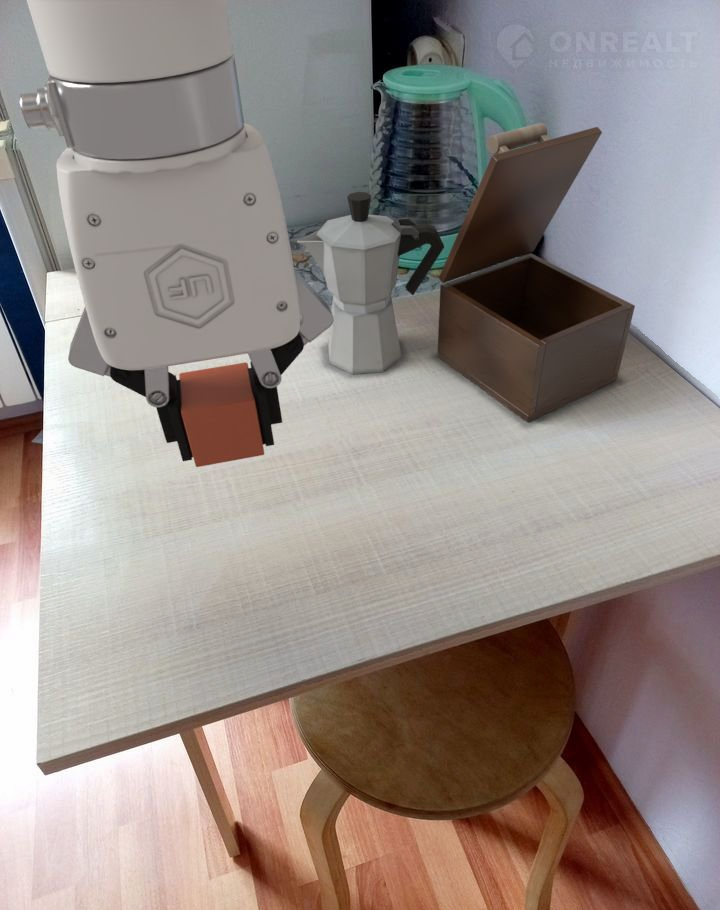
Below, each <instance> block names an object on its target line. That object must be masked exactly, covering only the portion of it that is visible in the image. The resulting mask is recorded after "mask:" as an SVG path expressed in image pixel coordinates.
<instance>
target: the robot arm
mask: <svg viewBox="0 0 720 910" xmlns="http://www.w3.org/2000/svg"><path fill="white" fill-rule="evenodd" d="M26 4H27V7H28V10H29V13H30V16H31V19H32V23H33V26H34V30H35V33H36V37H37V39H38V43H39V46H40V49H41V53H42V56H43V59H44V62H45V66H46V70H47V72H48V74H49V77H48V79H47V80H46V82H45V85H44V87H43V88H42V87H41V88H37V89H36V92H29V93H28V92H27V93H21V94H19V96H18V97H19V105H20V110H21V113H22V117H23V119H24V122H25V124H26V126H27V128H28V129H29V130H34V129H44V128H46V129H47V130H48V131H57V133H58V136H59V137H63V138H64V140H65V143H66V148H65V149H64V150H63V152H61V154H60V156H59V158H57V160H56V163H55V165H56V166H55V167H56V178H57V184H58V185H57V187H58V194H59V199H60V206H61V211H62V212H61V213H62V217H63V222H64V227H65V231H66V235H67V236H66V237H67V241H68V245H69V249H70V250H69V251H70V254H71V259H72V262H73V266H74V270H75V274H76V277H77V278H76V279H77V281H78V284H79V289H80V293H81V297H82V300H83V304H84V308H83V311H82V313H81V316H80V319H79V321H78V323H77V327H76V329H75V332H74V334H73V337H72V340H71V343H70V345H69V352H68V363H69V364H70V365H71V366H72V367H74V368H76V369H80V370H82V371H86V372H88V373H89V372H90V373H92V374H96V375H99V376H102V377H105V376H106V377H110V379H111V380H112V381H114V382H115V383H117V384H118V385H121V386H123V387H125V388H127V389H129V390H131V391H132V392H134V393H135V394H138V395H141V396H142V397H145V399H146V402H147V404H148V405H150V407H154V408H155V409H156V412H157V415H158V419H159V422H160V425H161V429H162V431H163V435H164V439H165V441H166V444H170V443H171V444H172V443H175V442H176V443H177V446H178V450H179V453H180V457H181V460H182V462H188V461H192V460H193V455H192V451H191V447H190V444H189V440H188V436H187V433H186V429H185V425H184V422H183V418H182V414H181V390H180V380H179V379H178V377H177V375H176V374H173V373H171V372H170V371H169V367H172V366H178V365H185V364H191V363H198V362H205V361H210V360H215V359H216V360H217V359H223V358H229V357H235V356H239V355H246V354H248V357H249V360H250V363H249V364H250V367H248V372H249V377H250V382H251V387H252V392H253V395H254V399H255V405H256V410H257V415H258V421H259V426H260V432H261V437H262V443H263V446H265V447H270V446H275V439H274V434H273V430H272V429H273V428H272V425H278V424H282V423H283V417H282V411H281V404H280V398H279V391H278V386H279V385H280V384H281V382H282V380H283V379H282V375H283V374H284V373H285V371H286V370H288V368H289V367H290V366H291V364H292V363H293V362H294V361H295V360H296V359H297V358H298V357H299V355H300V354H301V353H302V352H303V350H304V348H305V346H306V345H307V344H309V343H312V342H313V341H315V339H317V338H318V337H320V336H321V335H322V334H323V333H325V331H327V330H328V329H330V326H331V325H332V324H333V321H334V318H333V315H332V313H331V311H332V309H331V308H330V306H329V303H327V301H325V300H324V299H323V298H322V296H320V294H319V293H318V292H317V291H316V290H315V289H314V288H313V287H312V286H311V284H309V282H308V281H307V280H306V279H305V278H304V277H303V276H302V274H301V273H300V272H299V271H297V269H296V268H295V266H294V260H293V254H292V248H291V242H290V237H289V232H288V227H287V221H286V216H285V211H284V206H283V202H282V197H281V193H280V192H281V191H280V188H279V184H278V181H277V177H276V172H275V169H274V166H273V162H272V159H271V156H270V153H269V149H268V147H267V145H266V142H265V139H264V136H263V135H262V134H261V133H260V131H259V129H257V128H256V127H255V126H253V125H251V124H248V123H245V120H244V113H243V105H242V98H241V92H240V86H239V79H238V72H237V66H236V59H235V54H234V46H233V40H232V32H231V26H230V19H229V12H228V5H227V0H26Z"/></svg>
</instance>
